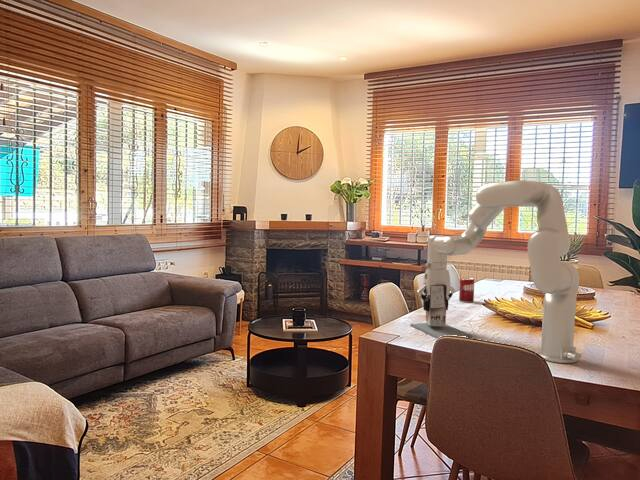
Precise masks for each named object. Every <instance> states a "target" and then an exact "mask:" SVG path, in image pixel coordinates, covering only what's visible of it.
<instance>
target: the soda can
mask: <svg viewBox="0 0 640 480" xmlns="http://www.w3.org/2000/svg"><path fill="white" fill-rule="evenodd" d="M458 290H459V291H458V292H459V293H458V294H459V296H458V301H459V302H460V303H465V304H470V303H471V304H472V303H473V302H474V300H475V279H474V278H472V277H460V279H459V289H458Z"/></svg>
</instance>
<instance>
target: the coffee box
mask: <svg viewBox="0 0 640 480" xmlns="http://www.w3.org/2000/svg"><path fill="white" fill-rule="evenodd" d="M446 293H447V286H446V285H431V295H430V297H429V300H428V301H429V311H425V323H428V324H429V325H430V326H445V324H446V322H447V321H446V320H447V319H446V318H447V310H446Z"/></svg>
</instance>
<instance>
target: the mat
mask: <svg viewBox="0 0 640 480" xmlns="http://www.w3.org/2000/svg"><path fill="white" fill-rule="evenodd" d="M410 327H412V328H414V329H416V330H418V331H421V332H422V333H424V334H426V335H429V336H431V337H433V338H435V339H437V338H439V337H440V336H444V335H457V336H466V337H471V338H473V335H472V334H470V333H468V332H465V331H463V330H460V329H458V328H455V327H453V326H451V325H448V324H445V326H430V325H429V324H428V323H427V322H420V323H410Z"/></svg>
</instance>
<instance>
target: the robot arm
mask: <svg viewBox="0 0 640 480" xmlns="http://www.w3.org/2000/svg"><path fill="white" fill-rule="evenodd" d="M475 201H476V202H477V203H476V204H475V205H474V206H473V207H472V208H471V209H470V210H469V212H468V219H469V220H470V221H471V222H470V224H469V226H468V227H467V229H466V230H464V232H463V233H462V234H461V235H460V234H459V235H458V234H457V235H443V234H441V235H439V234H433V235H428V239H427V261H426V263H425V264H424V267H425V268H426V269H425V271H424V277H423V283H422V286H421V287H420V288H418V289H417V290H416V292H417V294H418V295H419V297H420V298H421V299H422V301H423V303H422V306H423V311H425V312H426V311H429V301H428V300H429V297H430V295H431V285H446V286H447V293H446V311H448V310H449V301H450V300H451V298H452V297H453V296H454V293H455V292H456V289H455V288H454V287H453V286H452V285H451V276H450V275H451V274H450V271H449V269H448V267H447V266H448V256H458V255H467V254H468V253H470V252H471V251H473V250H474V249H475V248H476V247H477V246H478V245H479V244H480V243H481V241H482V240H483V239H484V237H485V235H486V233H487V229H488V227H489V226H490V224H492V222H493V221H494V220H495V219H496V218H497V217H499V215H500V214H501V213H502V212H503V211H504V209H506V208H507V207H535V208H536V209H537V210H536V211H537V212H536V221H537V222H536V223H537V228H538V230H536V231H534V232H533V233H532V234H531V235H530V237H529V238H528V241H527V255H528V262H529V267H530V268H529V269H530V275H531V278H532V282H533V284H534V286H535V288H536V289H537V290H538V291H540V292H541V293H543V294H544V297H543V304H542V305H543V306H542V324H541V340H540V342H541V343H540V348H539V349H537V350H535V353H536V352H537V353H538V354H540V355H541V356H542V357H543V358H544V359H545V360H544V359H543V360H544V361H546V362H547V361H548V362H551V363H560V364H573V363H577V362H578V361H579V359H581V358H582V354H581V353H579V352H576V350H577V348H576V346H574V342H575V339H574V338H575V323H576V322H575V321H576V306H577V296H578V292H579V288H580V287H579V286H580V273H579V271H578V268H577V267H576V266H575V265H574V264H572V263H570V262H568V261H561V257H563V256H565V255H567V254H568V253H569V251H570V249H571V240H570V234H569V230H568V229H569V228H568V222H567V219H566V214H565V205H564V200H563V197H562V194H561V193H560V191H559V190H558V189H557V188H556V187H555V186H553V185H551V184H550V183H546V182H541V181H538V180H537V181H536V180H522V179H521V180H520V179H518V180H517V179H516V180H508V181H507V180H506V181H501V182H499V181H498V182H488V183H485V184H482V185H481V186H480V187H479V188H478V190H477V191H476V194H475Z"/></svg>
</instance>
